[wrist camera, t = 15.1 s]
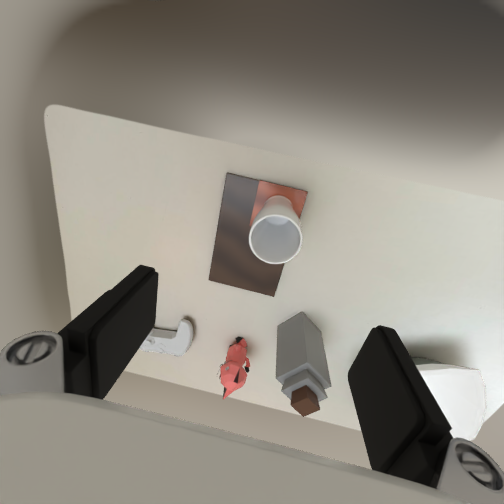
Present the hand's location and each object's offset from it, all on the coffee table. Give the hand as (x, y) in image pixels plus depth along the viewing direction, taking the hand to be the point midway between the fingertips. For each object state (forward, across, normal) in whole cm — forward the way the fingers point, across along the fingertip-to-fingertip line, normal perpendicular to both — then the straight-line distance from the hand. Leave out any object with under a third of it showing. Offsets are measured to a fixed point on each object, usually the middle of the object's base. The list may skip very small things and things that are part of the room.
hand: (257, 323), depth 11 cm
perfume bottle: (+36, -12, +29) cm, 48 cm away
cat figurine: (+36, -1, +38) cm, 53 cm away
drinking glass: (+36, -1, +4) cm, 36 cm away
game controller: (+36, +17, +39) cm, 56 cm away
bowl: (+36, -38, +35) cm, 63 cm away
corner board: (+36, +2, +11) cm, 38 cm away
